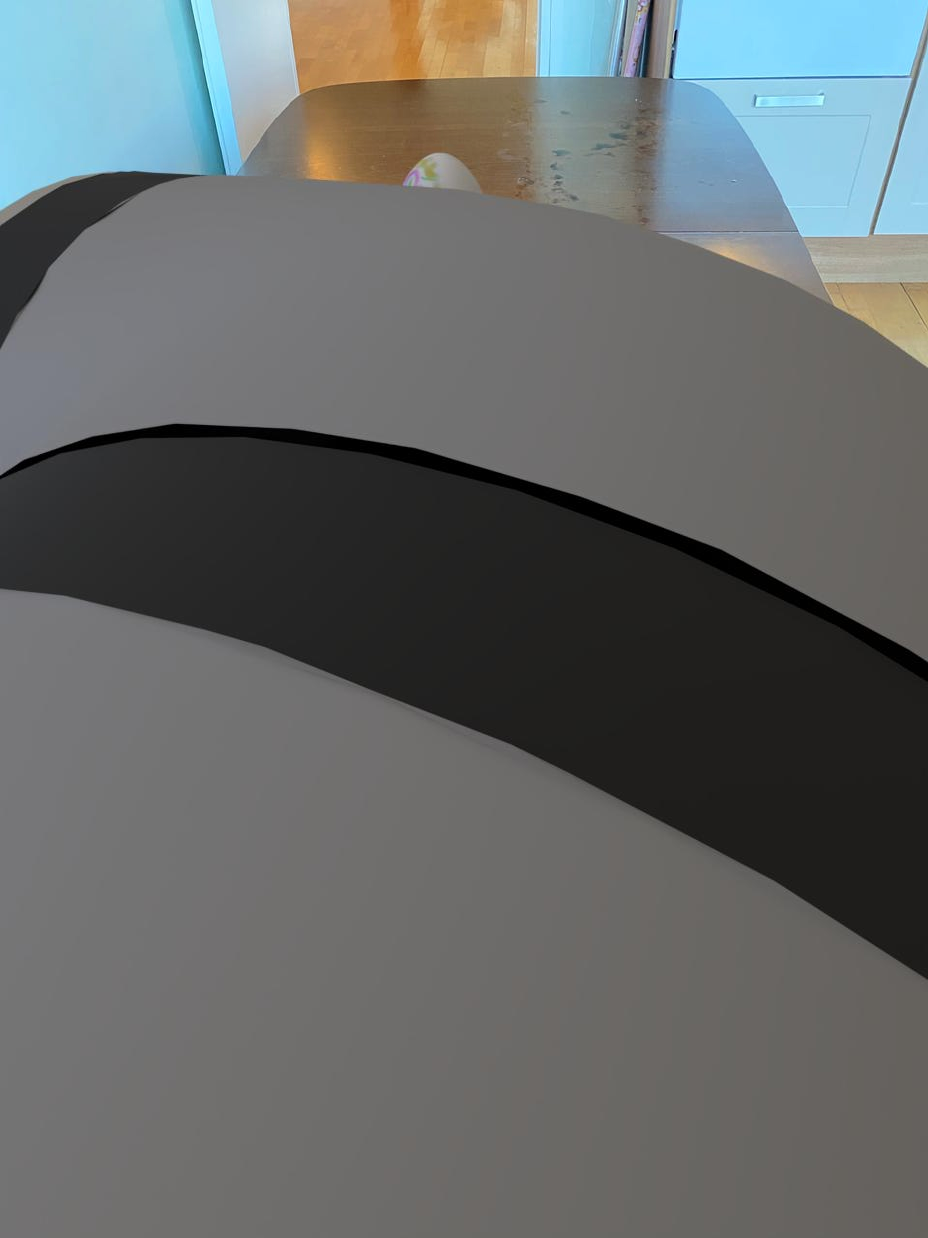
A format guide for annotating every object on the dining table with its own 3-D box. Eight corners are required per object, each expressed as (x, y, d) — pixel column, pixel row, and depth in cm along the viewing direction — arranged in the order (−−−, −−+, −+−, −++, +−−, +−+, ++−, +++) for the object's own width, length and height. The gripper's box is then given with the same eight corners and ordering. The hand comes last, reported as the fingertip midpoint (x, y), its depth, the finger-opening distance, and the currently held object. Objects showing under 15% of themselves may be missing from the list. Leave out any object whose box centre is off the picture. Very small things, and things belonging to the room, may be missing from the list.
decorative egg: (383, 268, 126) (372, 147, 115) (466, 249, 129) (463, 131, 119) (418, 305, 117) (411, 179, 107) (507, 284, 121) (507, 160, 111)
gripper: (-393, 684, 35) (231, 513, 42) (-484, 999, 26) (322, 720, 33) (-549, 525, 30) (192, 357, 36) (-726, 852, 21) (289, 555, 28)
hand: (253, 530), depth 35 cm, fingers closed
